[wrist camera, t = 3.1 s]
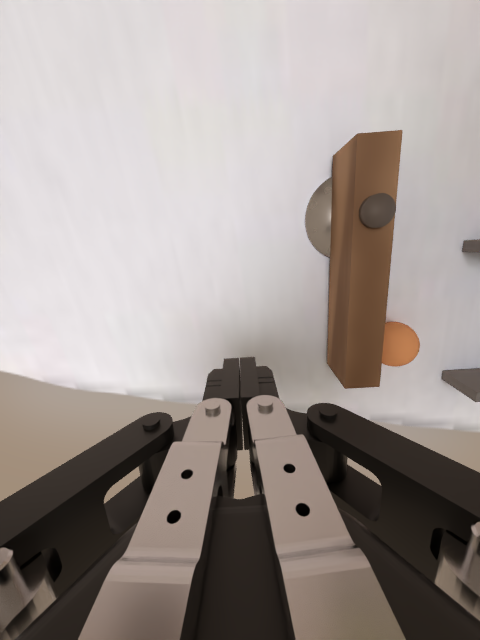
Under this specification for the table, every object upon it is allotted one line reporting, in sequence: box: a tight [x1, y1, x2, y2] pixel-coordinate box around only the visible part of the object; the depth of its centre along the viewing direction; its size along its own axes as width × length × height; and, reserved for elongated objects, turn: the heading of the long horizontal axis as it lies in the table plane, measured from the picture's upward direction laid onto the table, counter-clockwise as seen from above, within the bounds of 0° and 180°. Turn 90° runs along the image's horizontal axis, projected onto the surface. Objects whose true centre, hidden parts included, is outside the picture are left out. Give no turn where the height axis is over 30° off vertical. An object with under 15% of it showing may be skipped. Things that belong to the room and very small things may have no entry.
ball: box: [382, 322, 420, 366], centre depth 21 cm, size 3×3×3 cm
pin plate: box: [305, 177, 332, 258], centre depth 20 cm, size 6×6×1 cm
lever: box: [327, 130, 402, 389], centre depth 18 cm, size 2×16×5 cm, turn 4°
